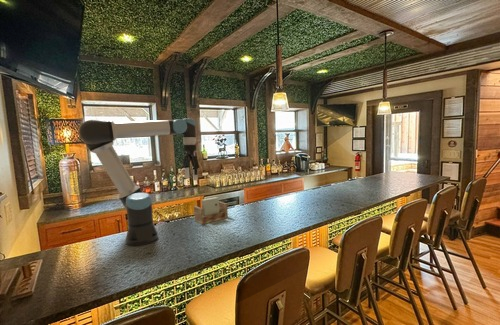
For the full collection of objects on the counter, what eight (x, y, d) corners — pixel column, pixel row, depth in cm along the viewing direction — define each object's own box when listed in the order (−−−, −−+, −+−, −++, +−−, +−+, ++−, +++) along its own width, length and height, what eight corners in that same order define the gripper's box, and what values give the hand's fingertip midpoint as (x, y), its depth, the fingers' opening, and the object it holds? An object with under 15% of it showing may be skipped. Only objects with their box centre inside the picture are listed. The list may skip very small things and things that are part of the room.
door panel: (205, 220, 152) (204, 200, 151) (203, 218, 155) (201, 199, 154) (220, 216, 158) (218, 197, 157) (217, 215, 161) (216, 196, 159)
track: (201, 224, 147) (200, 209, 146) (194, 220, 155) (193, 206, 155) (227, 217, 158) (227, 203, 157) (220, 214, 166) (219, 201, 165)
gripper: (204, 144, 144) (205, 180, 145) (188, 144, 164) (189, 176, 166) (191, 144, 139) (193, 182, 141) (177, 144, 160) (178, 177, 161)
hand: (191, 179), depth 153 cm, fingers open, 13 cm apart
